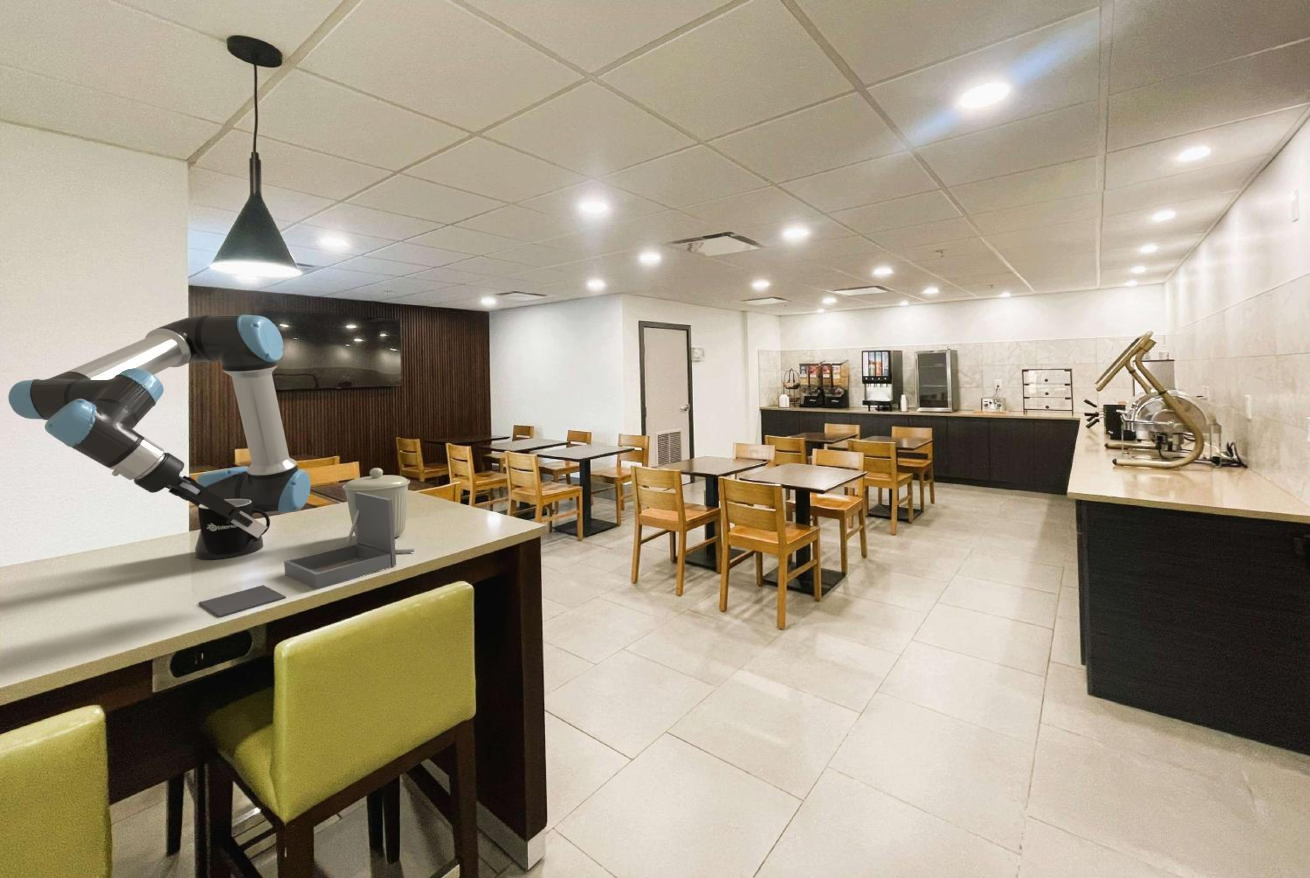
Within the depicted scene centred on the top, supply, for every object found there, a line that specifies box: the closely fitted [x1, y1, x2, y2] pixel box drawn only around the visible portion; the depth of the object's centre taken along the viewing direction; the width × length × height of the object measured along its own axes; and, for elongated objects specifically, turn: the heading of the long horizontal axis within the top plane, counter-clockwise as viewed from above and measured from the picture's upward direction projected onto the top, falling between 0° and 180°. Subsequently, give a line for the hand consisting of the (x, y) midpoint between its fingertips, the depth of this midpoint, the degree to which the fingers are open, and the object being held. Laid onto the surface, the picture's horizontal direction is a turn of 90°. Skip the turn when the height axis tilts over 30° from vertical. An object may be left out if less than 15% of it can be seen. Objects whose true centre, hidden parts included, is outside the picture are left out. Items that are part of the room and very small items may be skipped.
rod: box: [395, 548, 415, 554], centre depth 153 cm, size 12×1×1 cm, turn 96°
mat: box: [198, 584, 287, 618], centre depth 121 cm, size 12×12×1 cm
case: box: [283, 492, 397, 590], centre depth 139 cm, size 17×19×17 cm
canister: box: [342, 467, 411, 539], centre depth 168 cm, size 18×18×21 cm
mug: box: [197, 499, 271, 555], centre depth 118 cm, size 12×9×10 cm
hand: (253, 529), depth 121 cm, fingers closed on mug, 9 cm apart
